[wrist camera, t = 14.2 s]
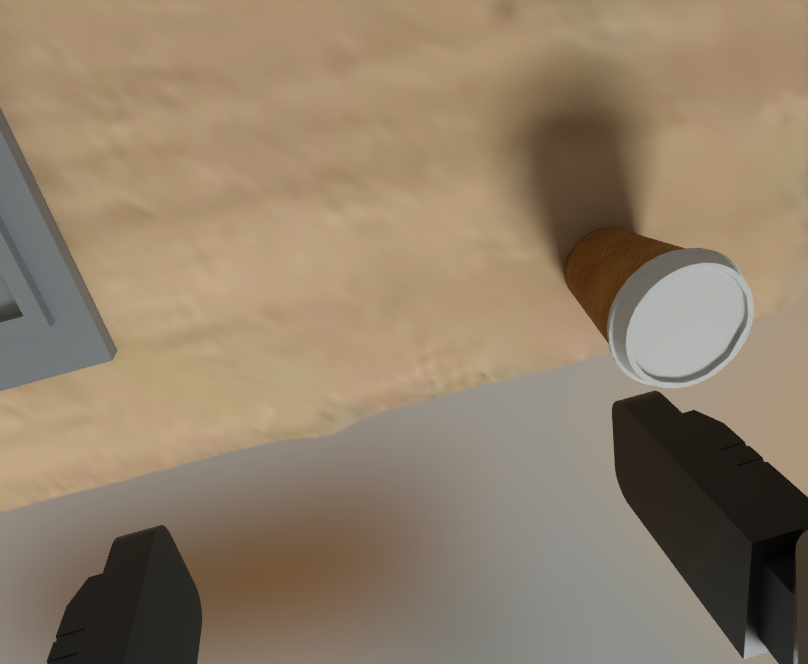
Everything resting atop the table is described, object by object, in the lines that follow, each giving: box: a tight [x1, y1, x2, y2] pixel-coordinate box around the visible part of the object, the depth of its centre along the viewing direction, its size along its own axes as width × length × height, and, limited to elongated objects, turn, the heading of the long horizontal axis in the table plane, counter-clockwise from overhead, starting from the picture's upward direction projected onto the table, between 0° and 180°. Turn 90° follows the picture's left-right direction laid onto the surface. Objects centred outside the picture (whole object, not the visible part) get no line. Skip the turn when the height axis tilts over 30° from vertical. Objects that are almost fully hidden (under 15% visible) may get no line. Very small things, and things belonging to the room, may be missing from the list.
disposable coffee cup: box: [565, 228, 754, 388], centre depth 45 cm, size 10×10×12 cm
